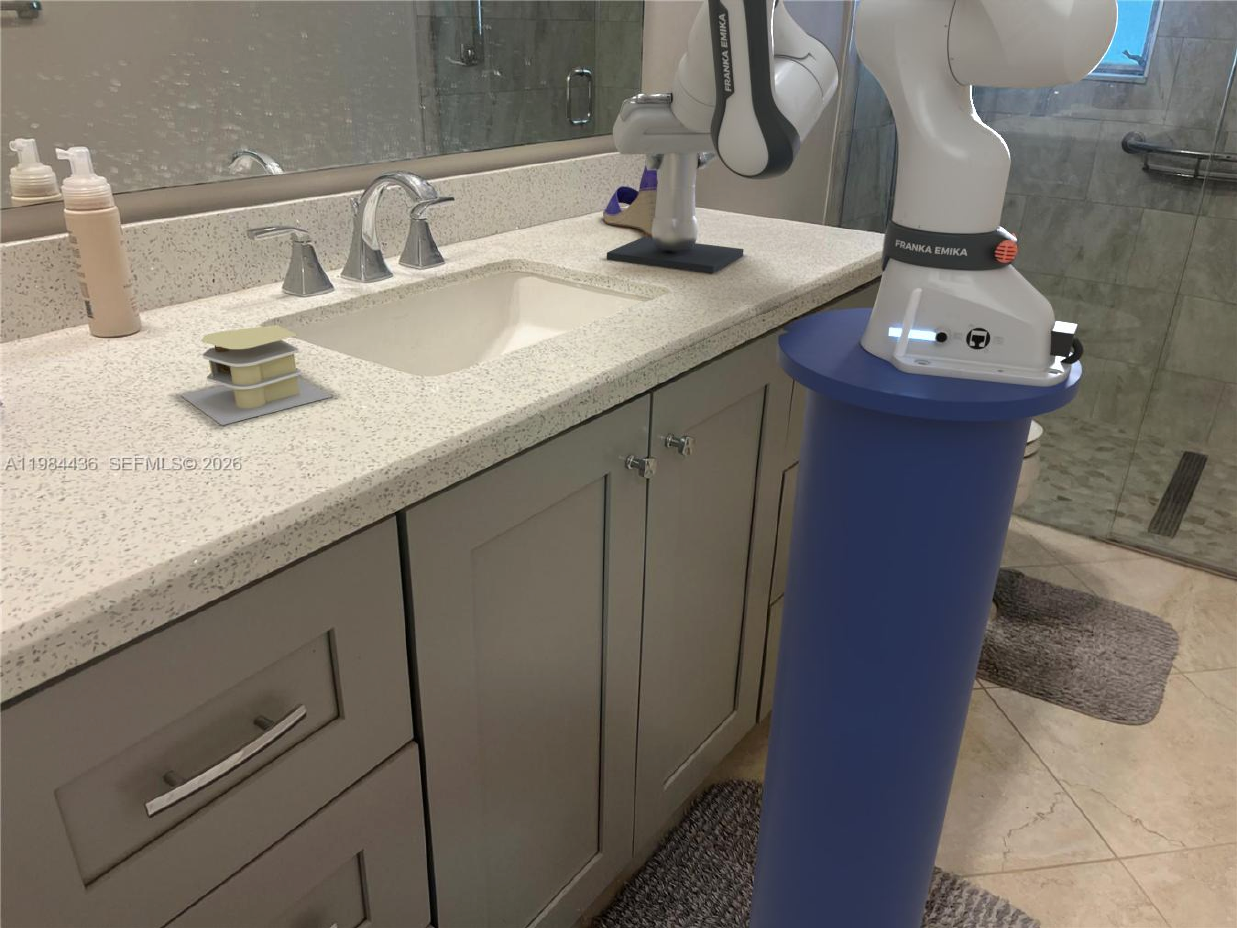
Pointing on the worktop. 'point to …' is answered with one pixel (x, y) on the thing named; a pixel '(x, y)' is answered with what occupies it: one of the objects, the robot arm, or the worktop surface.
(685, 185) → the plastic bottle
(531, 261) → the worktop surface
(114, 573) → the worktop surface
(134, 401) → the worktop surface
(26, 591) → the worktop surface
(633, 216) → the sandal
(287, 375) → the stacked layers on plate
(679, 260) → the dark rectangular flat slab
